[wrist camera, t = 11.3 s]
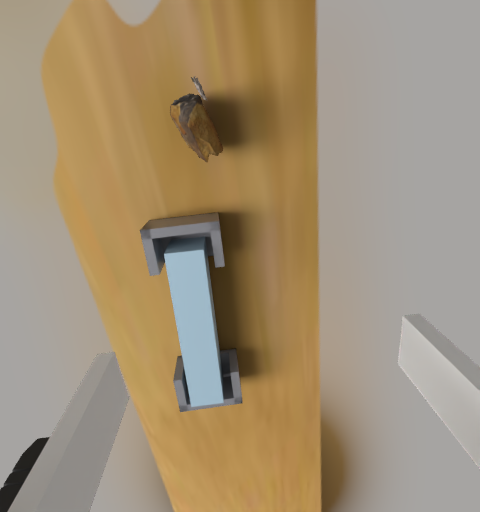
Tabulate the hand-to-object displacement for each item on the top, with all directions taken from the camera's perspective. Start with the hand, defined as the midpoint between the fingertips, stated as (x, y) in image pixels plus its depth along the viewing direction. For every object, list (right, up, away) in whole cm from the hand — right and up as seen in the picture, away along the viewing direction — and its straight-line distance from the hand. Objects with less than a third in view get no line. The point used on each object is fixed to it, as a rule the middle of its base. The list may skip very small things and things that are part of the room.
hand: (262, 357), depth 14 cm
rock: (-6, +19, +18) cm, 27 cm away
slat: (-6, -3, +25) cm, 26 cm away
